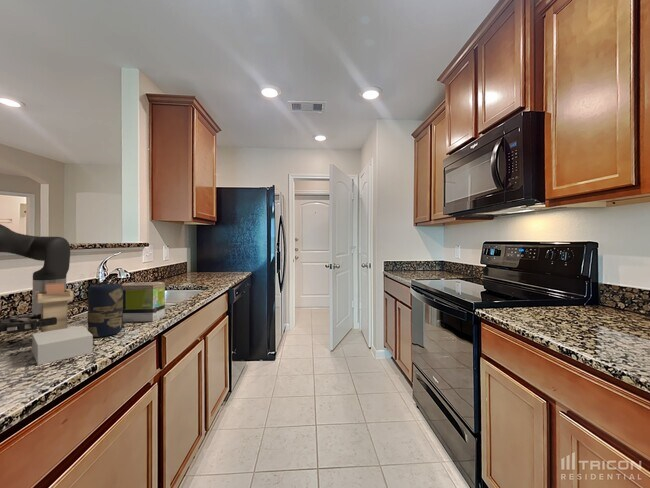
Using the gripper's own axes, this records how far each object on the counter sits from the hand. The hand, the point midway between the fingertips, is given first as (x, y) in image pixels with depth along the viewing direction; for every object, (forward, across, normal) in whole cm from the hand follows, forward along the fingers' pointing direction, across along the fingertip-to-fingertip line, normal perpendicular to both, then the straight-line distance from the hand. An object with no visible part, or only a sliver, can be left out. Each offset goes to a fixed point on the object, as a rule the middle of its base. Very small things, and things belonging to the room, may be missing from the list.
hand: (54, 318), depth 91 cm
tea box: (+27, +9, +7) cm, 29 cm away
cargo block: (0, 0, -7) cm, 7 cm away
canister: (+12, -4, +7) cm, 15 cm away
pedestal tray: (0, 0, +7) cm, 7 cm away
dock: (0, -15, +7) cm, 16 cm away
